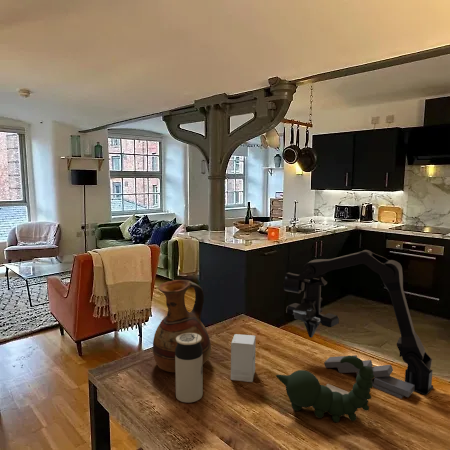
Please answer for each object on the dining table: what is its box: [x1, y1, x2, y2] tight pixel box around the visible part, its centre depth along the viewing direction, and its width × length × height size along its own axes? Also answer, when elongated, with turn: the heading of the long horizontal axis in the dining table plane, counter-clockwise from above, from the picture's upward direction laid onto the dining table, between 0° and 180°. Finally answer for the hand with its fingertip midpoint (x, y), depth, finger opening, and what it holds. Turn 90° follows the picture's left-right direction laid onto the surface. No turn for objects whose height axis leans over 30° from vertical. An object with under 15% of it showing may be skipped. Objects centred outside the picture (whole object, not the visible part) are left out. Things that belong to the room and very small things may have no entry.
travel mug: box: [174, 333, 204, 404], centre depth 106 cm, size 8×8×18 cm
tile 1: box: [323, 355, 358, 369], centre depth 122 cm, size 2×5×10 cm
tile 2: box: [336, 359, 374, 374], centre depth 119 cm, size 2×5×10 cm
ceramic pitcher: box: [152, 279, 212, 373], centre depth 124 cm, size 20×20×30 cm
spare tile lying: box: [325, 383, 350, 395], centre depth 106 cm, size 10×5×2 cm, turn 48°
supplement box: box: [230, 333, 257, 383], centre depth 118 cm, size 7×7×13 cm
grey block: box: [374, 375, 415, 398], centre depth 110 cm, size 2×5×10 cm
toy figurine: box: [275, 355, 374, 423], centre depth 98 cm, size 9×19×25 cm
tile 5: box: [372, 377, 405, 400], centre depth 111 cm, size 2×5×10 cm
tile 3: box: [355, 364, 394, 377], centre depth 115 cm, size 2×5×10 cm
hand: (310, 337), depth 130 cm, fingers closed
